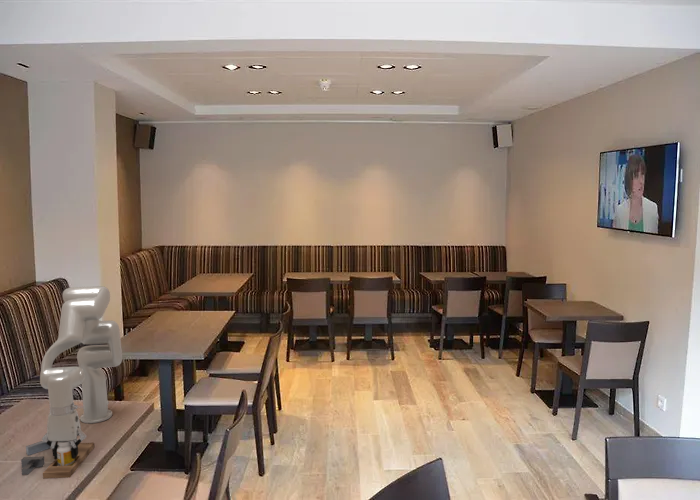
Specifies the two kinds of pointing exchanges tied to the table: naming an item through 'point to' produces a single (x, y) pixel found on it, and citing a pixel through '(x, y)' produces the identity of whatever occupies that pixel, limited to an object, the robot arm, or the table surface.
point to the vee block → (36, 447)
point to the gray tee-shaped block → (31, 464)
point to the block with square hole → (67, 471)
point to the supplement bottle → (64, 454)
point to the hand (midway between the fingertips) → (65, 456)
